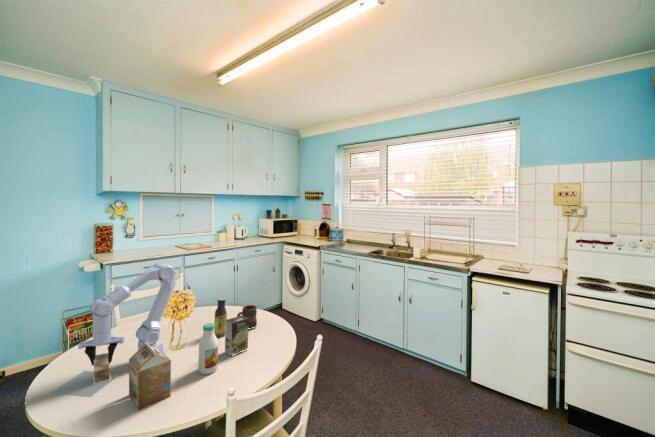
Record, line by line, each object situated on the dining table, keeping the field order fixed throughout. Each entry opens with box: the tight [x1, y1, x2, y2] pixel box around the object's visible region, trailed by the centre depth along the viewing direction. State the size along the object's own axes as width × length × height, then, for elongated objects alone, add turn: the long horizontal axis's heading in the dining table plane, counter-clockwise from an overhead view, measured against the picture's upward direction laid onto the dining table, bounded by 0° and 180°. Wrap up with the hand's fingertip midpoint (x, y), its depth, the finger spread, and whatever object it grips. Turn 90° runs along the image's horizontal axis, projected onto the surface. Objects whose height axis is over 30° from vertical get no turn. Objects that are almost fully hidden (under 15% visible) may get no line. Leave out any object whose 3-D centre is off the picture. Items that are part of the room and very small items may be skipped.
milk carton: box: [128, 342, 172, 411], centre depth 108 cm, size 11×11×19 cm
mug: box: [236, 304, 258, 328], centre depth 169 cm, size 9×12×12 cm
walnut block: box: [95, 367, 110, 383], centre depth 117 cm, size 4×4×4 cm
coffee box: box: [224, 315, 249, 355], centre depth 143 cm, size 9×6×16 cm
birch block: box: [93, 352, 111, 372], centre depth 117 cm, size 4×4×4 cm
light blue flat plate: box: [50, 370, 121, 398], centre depth 114 cm, size 16×15×1 cm
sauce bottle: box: [213, 297, 228, 338], centre depth 158 cm, size 7×6×20 cm
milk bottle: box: [198, 322, 219, 375], centre depth 126 cm, size 8×8×20 cm
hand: (102, 362), depth 117 cm, fingers closed on birch block, 5 cm apart
